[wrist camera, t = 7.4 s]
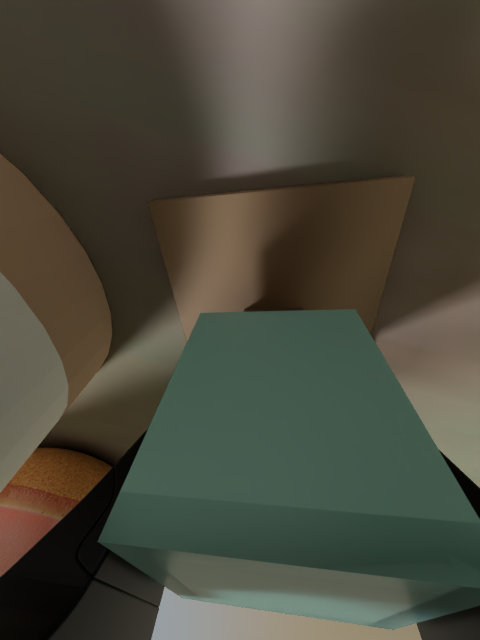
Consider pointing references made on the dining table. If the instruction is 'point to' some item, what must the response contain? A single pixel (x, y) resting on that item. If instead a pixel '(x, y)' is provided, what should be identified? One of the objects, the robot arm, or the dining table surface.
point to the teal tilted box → (296, 479)
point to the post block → (282, 247)
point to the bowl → (42, 319)
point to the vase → (43, 497)
